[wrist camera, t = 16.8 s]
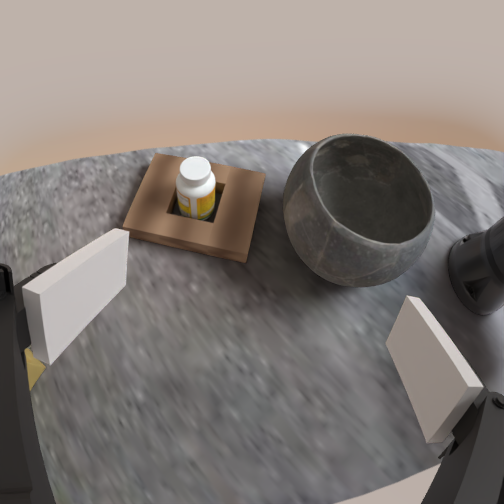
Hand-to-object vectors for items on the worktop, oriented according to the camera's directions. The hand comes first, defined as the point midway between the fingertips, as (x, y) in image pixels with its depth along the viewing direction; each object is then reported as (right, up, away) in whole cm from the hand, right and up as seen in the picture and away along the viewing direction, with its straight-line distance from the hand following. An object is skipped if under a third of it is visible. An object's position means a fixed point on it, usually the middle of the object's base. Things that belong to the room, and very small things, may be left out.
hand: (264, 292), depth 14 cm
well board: (-9, +8, +35) cm, 37 cm away
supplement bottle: (-9, +8, +35) cm, 37 cm away
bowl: (+13, +3, +35) cm, 37 cm away
